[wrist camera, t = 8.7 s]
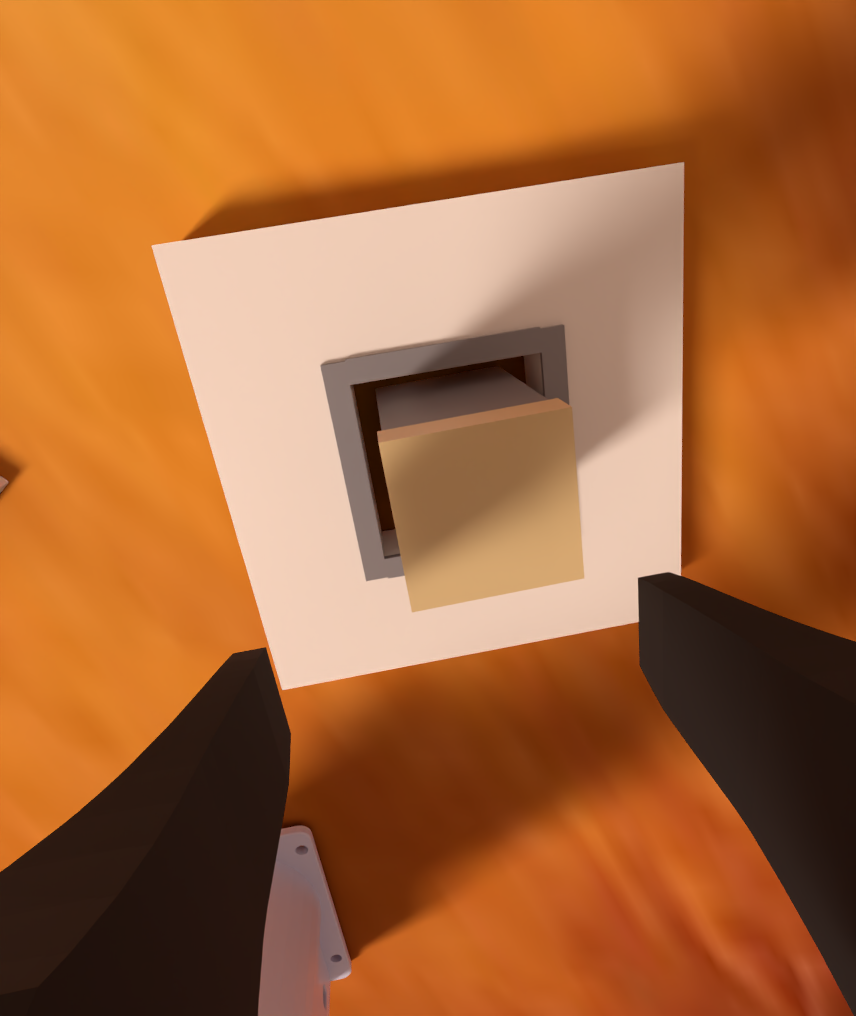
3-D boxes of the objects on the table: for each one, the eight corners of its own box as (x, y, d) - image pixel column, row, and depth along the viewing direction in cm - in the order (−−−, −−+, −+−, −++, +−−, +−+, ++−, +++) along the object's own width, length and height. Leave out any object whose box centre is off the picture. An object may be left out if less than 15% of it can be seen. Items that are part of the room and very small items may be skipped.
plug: (514, 484, 21) (584, 578, 15) (395, 506, 21) (411, 612, 14) (500, 362, 19) (572, 406, 13) (371, 385, 19) (378, 442, 13)
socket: (654, 586, 23) (683, 616, 21) (288, 655, 22) (281, 693, 20) (650, 173, 18) (688, 160, 16) (173, 248, 17) (149, 245, 15)
